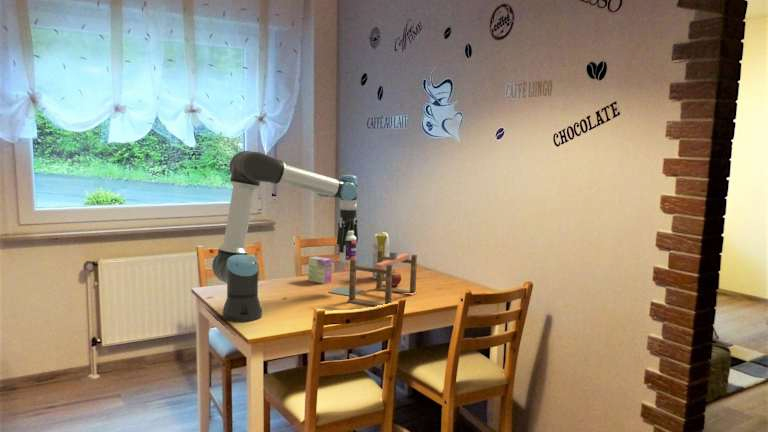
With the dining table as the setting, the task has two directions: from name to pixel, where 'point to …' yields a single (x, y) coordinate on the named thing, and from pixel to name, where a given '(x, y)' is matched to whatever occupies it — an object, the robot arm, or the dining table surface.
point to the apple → (395, 278)
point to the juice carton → (380, 244)
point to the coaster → (344, 291)
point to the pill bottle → (349, 247)
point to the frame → (388, 272)
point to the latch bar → (392, 260)
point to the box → (320, 269)
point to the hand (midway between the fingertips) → (347, 257)
